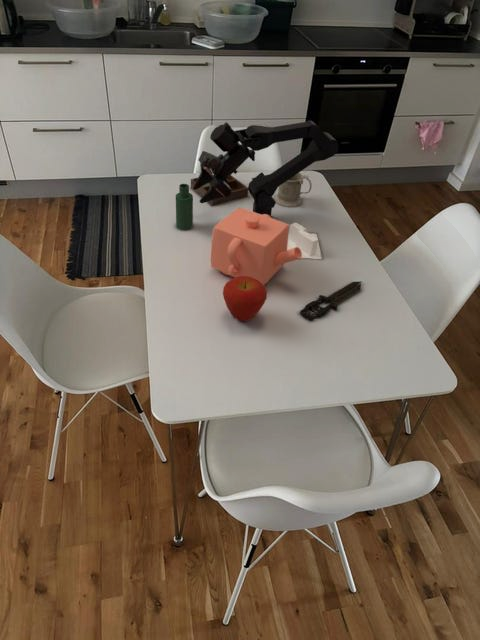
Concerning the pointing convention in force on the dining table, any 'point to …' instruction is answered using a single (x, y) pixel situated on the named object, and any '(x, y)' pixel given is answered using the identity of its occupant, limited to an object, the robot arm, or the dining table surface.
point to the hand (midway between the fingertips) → (197, 195)
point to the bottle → (184, 208)
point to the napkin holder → (303, 242)
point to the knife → (326, 299)
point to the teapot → (251, 245)
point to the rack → (236, 193)
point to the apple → (244, 297)
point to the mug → (291, 191)
